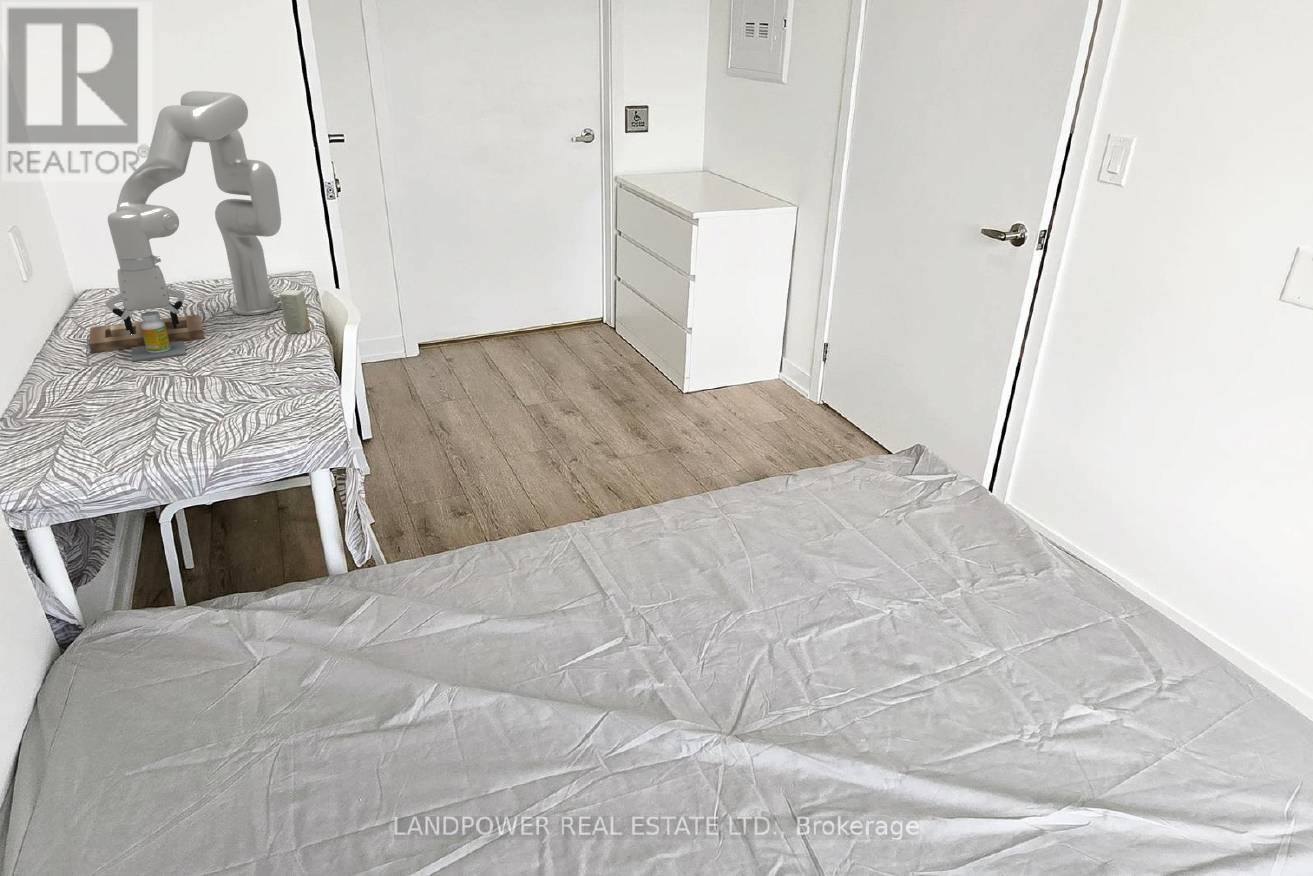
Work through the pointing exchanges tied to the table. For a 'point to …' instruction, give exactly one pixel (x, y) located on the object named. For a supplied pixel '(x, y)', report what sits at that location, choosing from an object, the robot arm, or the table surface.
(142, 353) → the rubber mat
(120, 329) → the maple block
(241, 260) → the robot arm
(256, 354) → the table surface
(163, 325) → the supplement bottle
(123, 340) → the puzzle board
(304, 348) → the table surface
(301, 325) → the box
